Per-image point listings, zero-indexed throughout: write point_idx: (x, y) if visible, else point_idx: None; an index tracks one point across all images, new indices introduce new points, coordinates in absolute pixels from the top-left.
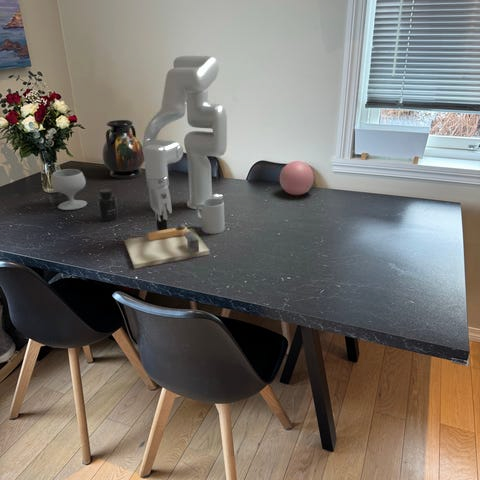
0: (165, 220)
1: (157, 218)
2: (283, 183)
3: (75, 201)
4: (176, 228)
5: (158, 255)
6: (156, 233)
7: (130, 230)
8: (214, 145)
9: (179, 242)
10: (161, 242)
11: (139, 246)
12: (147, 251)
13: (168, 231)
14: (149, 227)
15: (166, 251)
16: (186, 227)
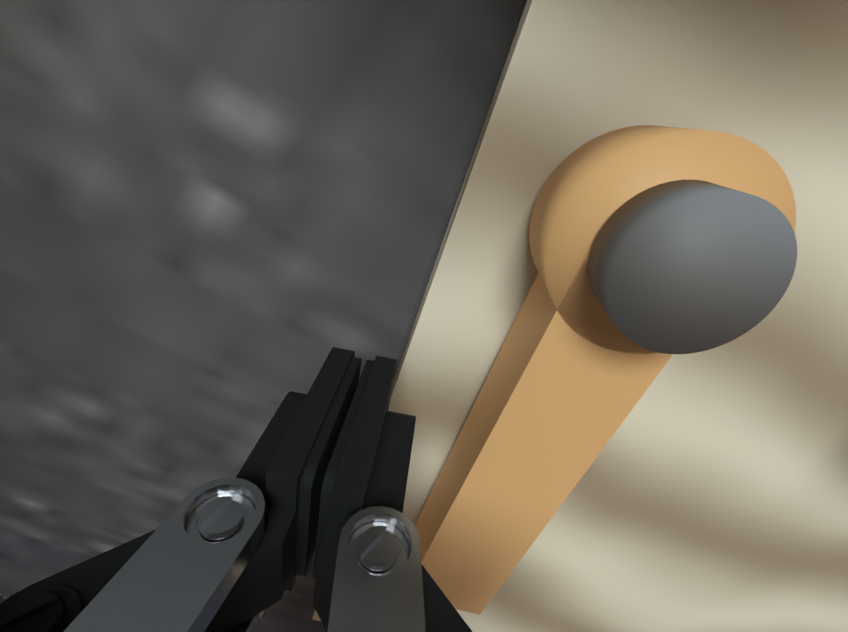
0: (363, 489)
1: (264, 607)
2: None
3: None
4: (587, 326)
5: (781, 621)
6: (503, 564)
7: (82, 466)
8: None
9: (790, 395)
10: (594, 502)
11: (505, 617)
12: (635, 626)
13: (574, 461)
14: (65, 324)
15: (797, 564)
16: (739, 145)
